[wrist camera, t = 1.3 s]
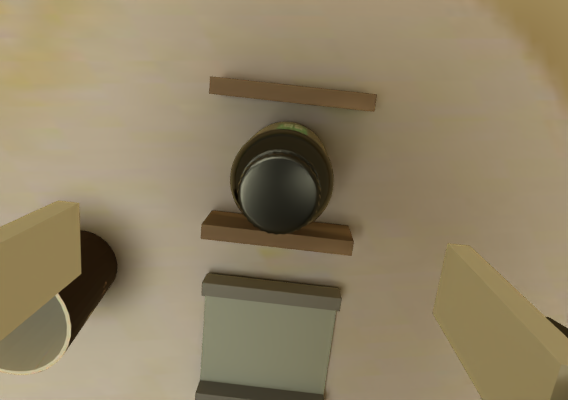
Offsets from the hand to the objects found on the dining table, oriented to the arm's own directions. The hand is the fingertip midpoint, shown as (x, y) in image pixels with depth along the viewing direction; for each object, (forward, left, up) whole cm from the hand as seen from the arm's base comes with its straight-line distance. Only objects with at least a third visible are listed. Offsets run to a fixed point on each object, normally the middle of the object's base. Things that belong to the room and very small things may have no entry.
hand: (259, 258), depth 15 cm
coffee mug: (-12, +19, -21) cm, 31 cm away
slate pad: (-17, 0, -21) cm, 27 cm away
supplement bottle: (0, 0, -21) cm, 21 cm away
